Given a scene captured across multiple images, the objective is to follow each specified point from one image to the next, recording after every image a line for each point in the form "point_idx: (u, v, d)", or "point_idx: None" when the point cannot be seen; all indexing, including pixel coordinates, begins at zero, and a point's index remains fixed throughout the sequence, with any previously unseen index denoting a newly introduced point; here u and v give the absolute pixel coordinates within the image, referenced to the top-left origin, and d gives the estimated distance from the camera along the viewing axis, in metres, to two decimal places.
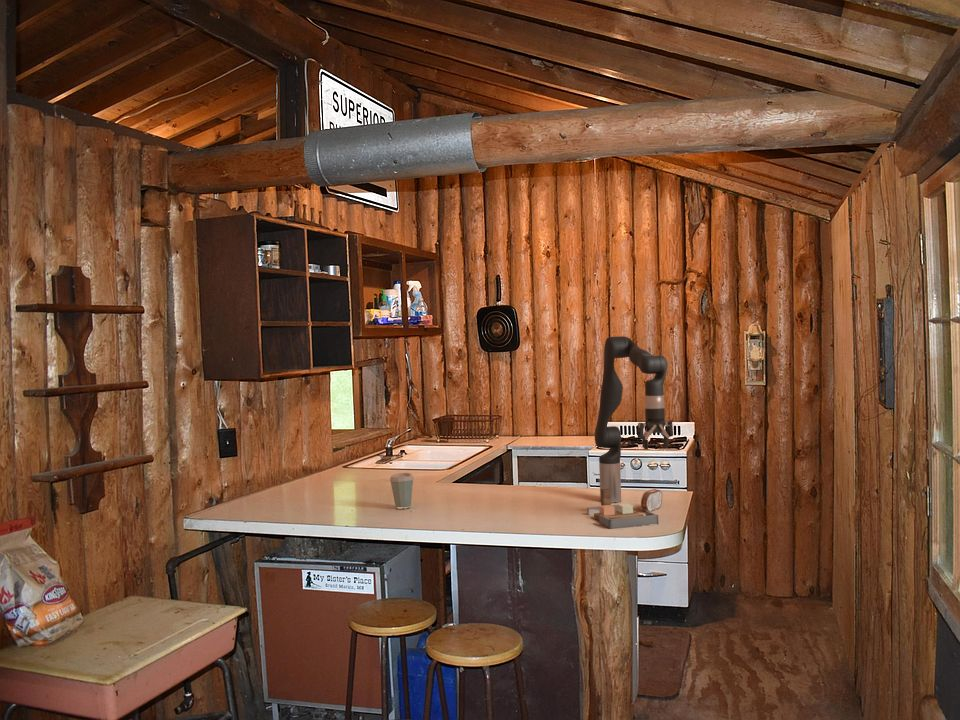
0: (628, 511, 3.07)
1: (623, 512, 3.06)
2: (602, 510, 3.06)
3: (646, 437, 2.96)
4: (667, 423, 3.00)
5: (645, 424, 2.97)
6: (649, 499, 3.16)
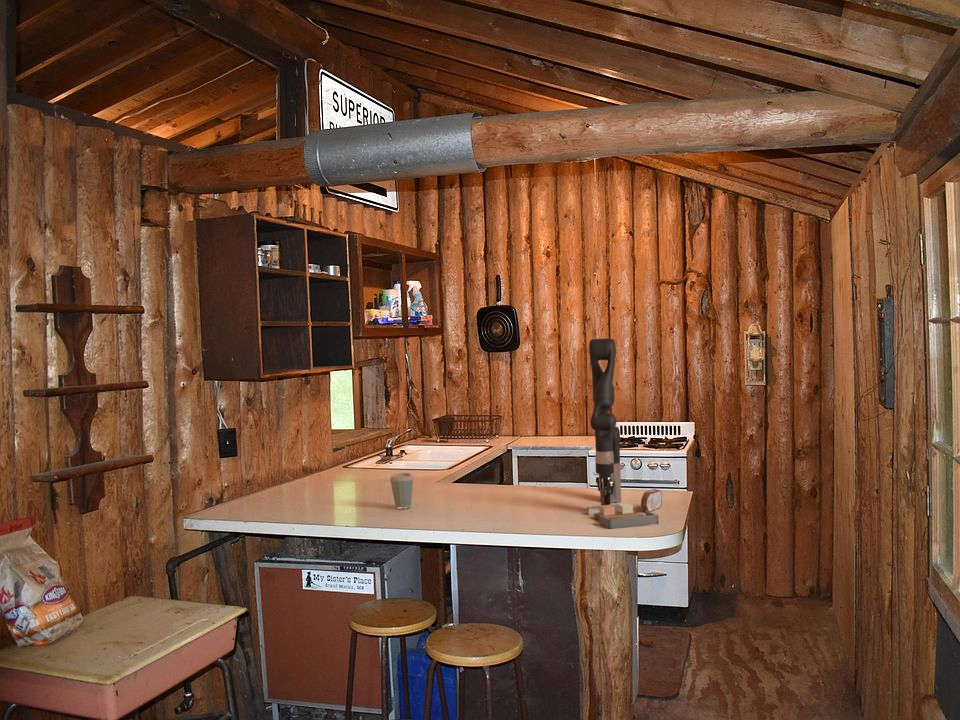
0: (628, 511, 3.07)
1: (623, 512, 3.06)
2: (602, 510, 3.06)
3: None
4: None
5: (610, 480, 3.13)
6: (649, 499, 3.16)
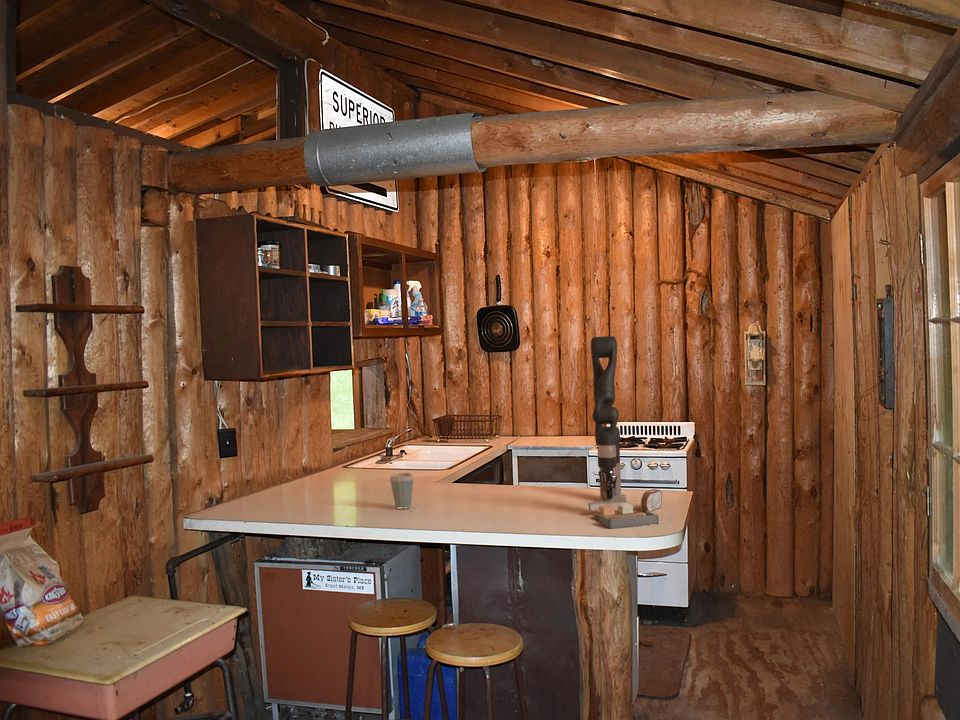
0: (628, 511, 3.07)
1: (623, 512, 3.06)
2: (602, 510, 3.06)
3: None
4: None
5: None
6: (649, 499, 3.16)
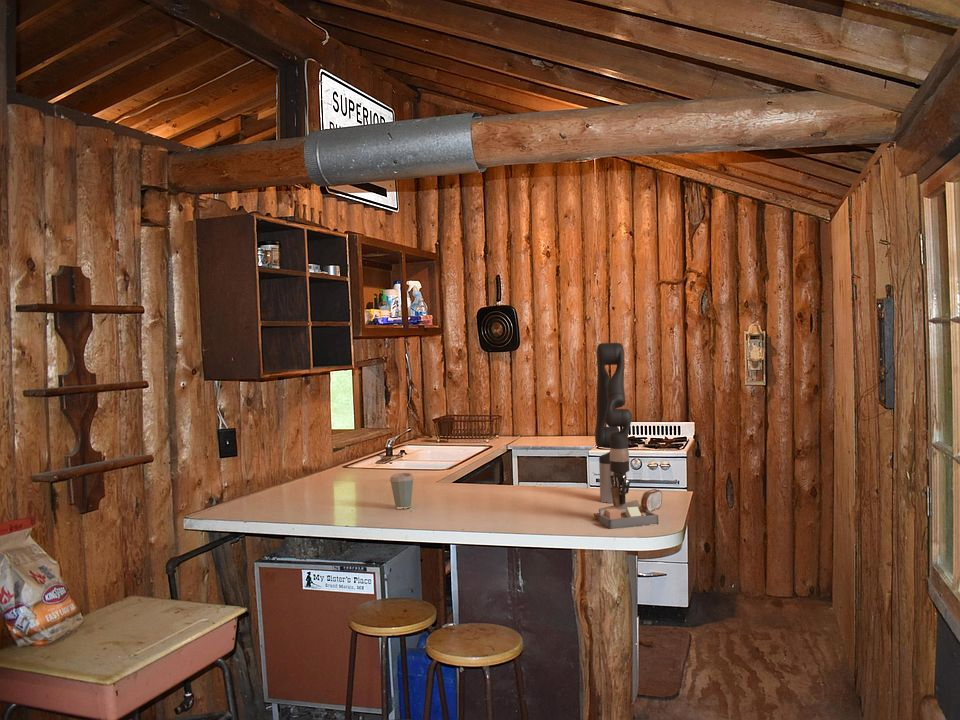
0: None
1: None
2: (608, 514, 2.98)
3: None
4: None
5: None
6: (649, 499, 3.16)
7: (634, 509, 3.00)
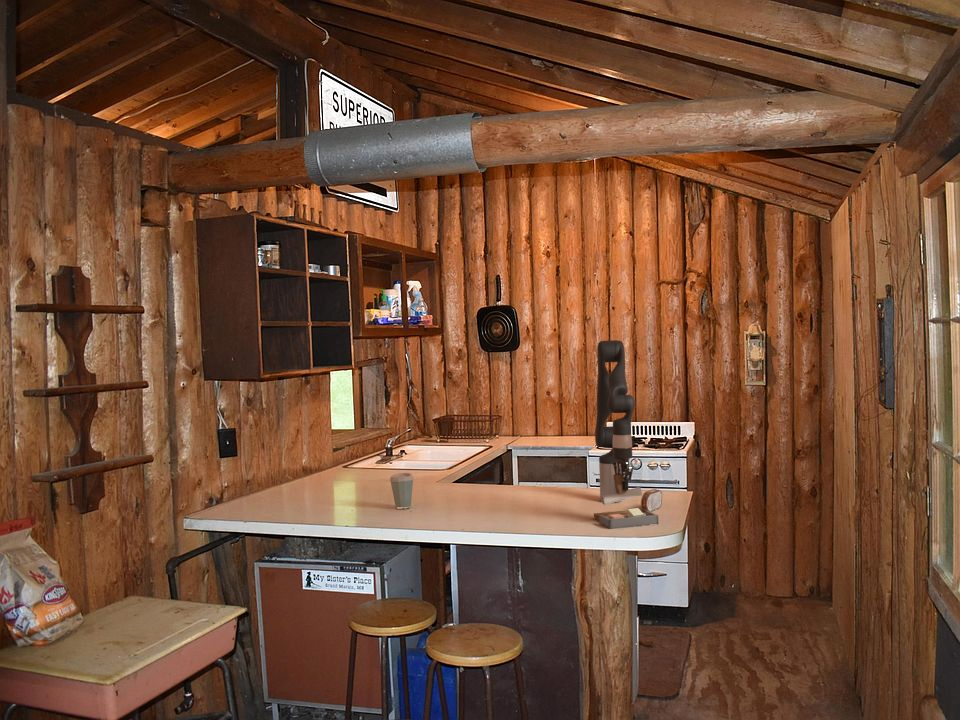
0: None
1: None
2: None
3: None
4: None
5: None
6: (649, 499, 3.16)
7: (635, 510, 3.00)
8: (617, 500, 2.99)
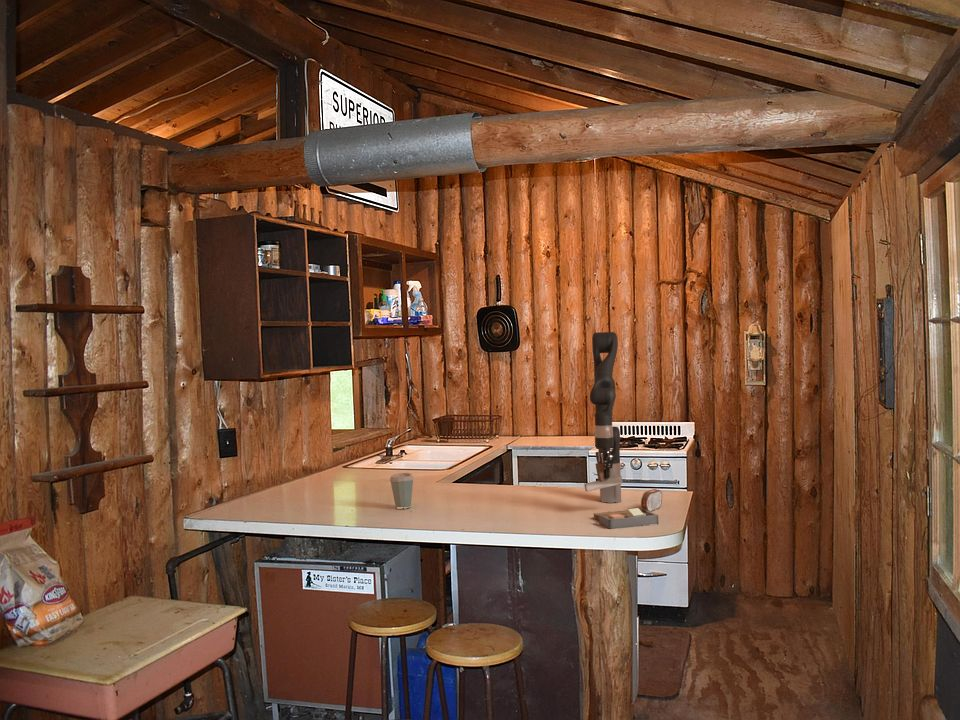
0: None
1: None
2: None
3: None
4: None
5: None
6: (649, 499, 3.16)
7: (635, 510, 3.00)
8: (599, 487, 3.16)
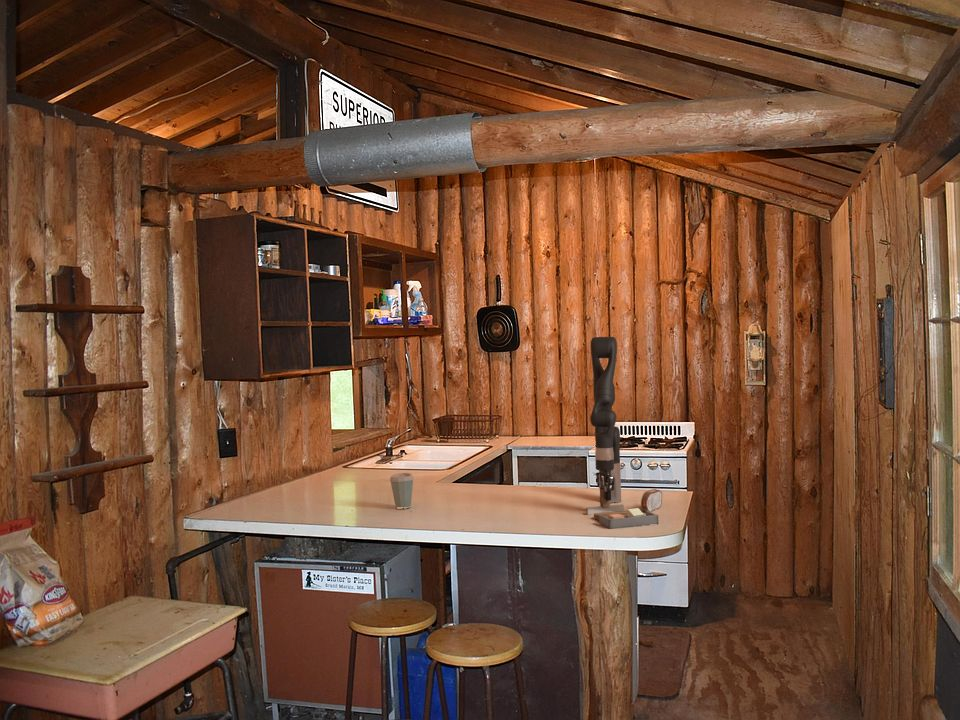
0: None
1: None
2: None
3: None
4: None
5: None
6: (649, 499, 3.16)
7: (635, 510, 3.00)
8: None
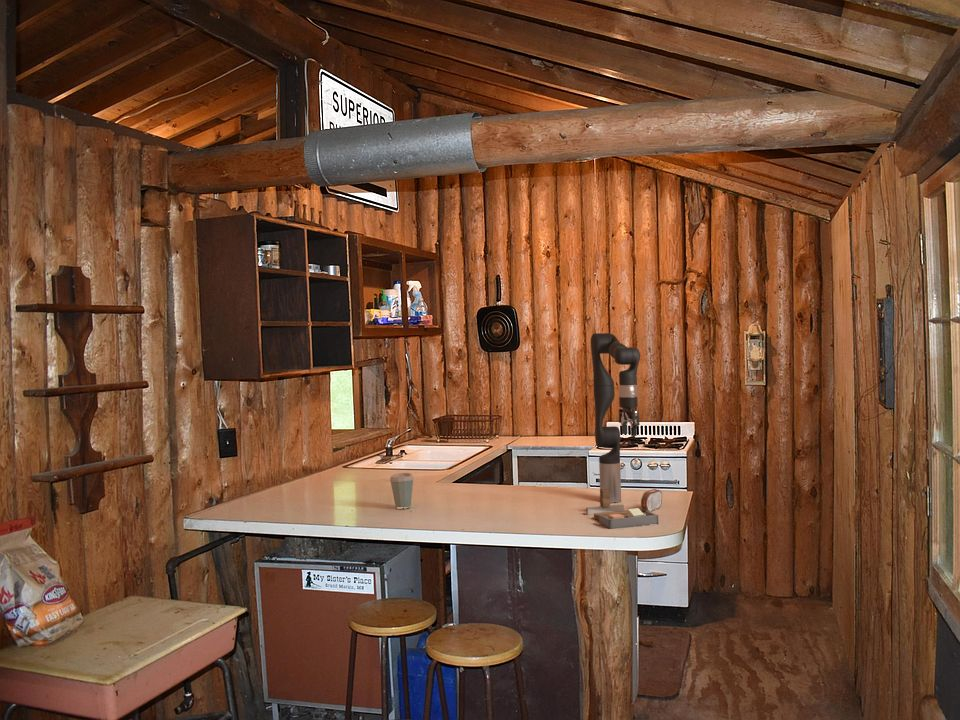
0: None
1: None
2: None
3: None
4: None
5: None
6: (649, 499, 3.16)
7: (635, 510, 3.00)
8: None
